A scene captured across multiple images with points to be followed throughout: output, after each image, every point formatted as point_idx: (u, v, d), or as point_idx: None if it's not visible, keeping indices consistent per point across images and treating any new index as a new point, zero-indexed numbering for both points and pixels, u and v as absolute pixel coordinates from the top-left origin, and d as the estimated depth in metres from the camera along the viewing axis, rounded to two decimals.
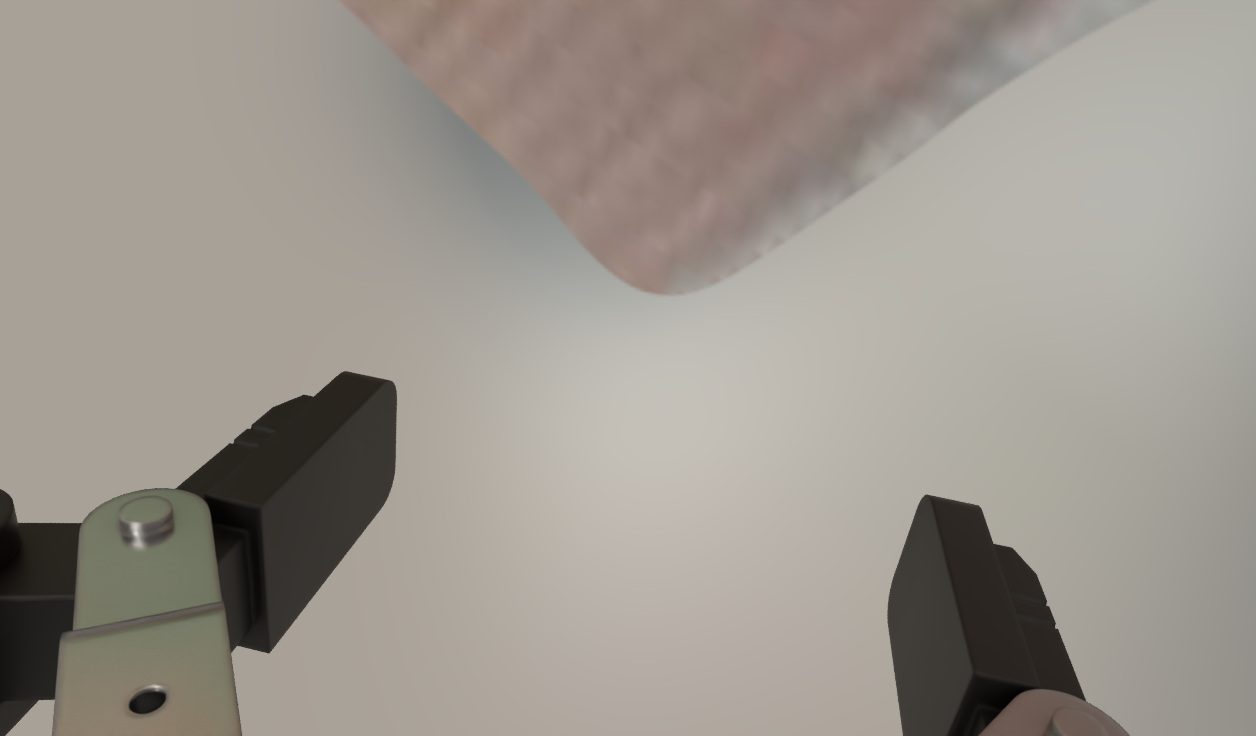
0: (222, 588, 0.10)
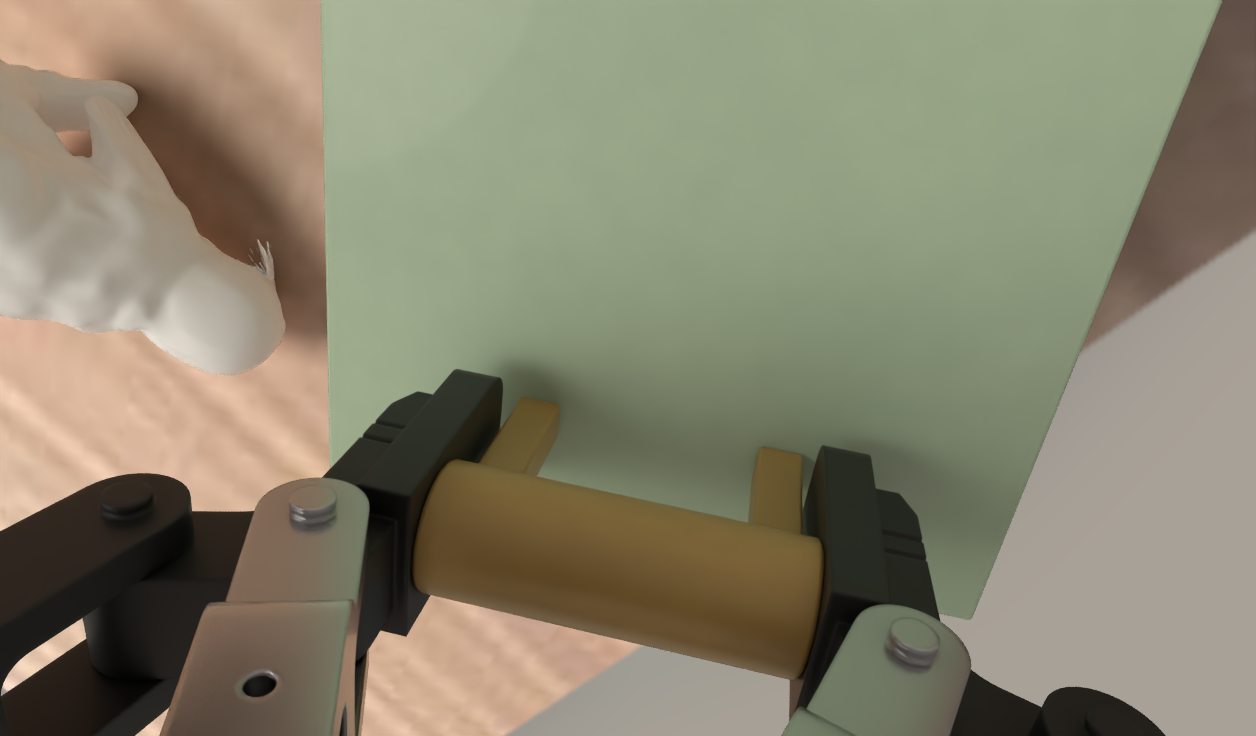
0: (376, 573, 0.10)
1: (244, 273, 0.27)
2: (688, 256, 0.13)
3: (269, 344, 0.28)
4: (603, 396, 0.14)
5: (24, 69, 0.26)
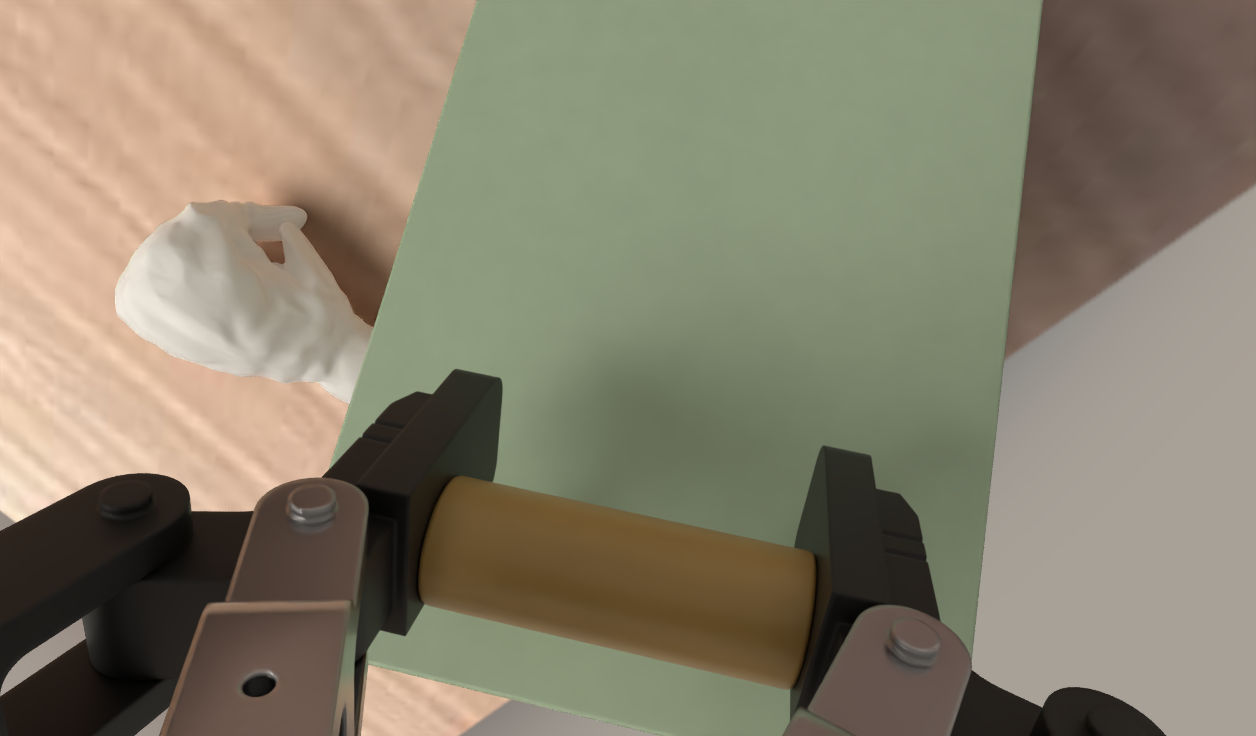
0: (375, 573, 0.10)
1: None
2: (667, 408, 0.16)
3: None
4: None
5: (239, 205, 0.38)
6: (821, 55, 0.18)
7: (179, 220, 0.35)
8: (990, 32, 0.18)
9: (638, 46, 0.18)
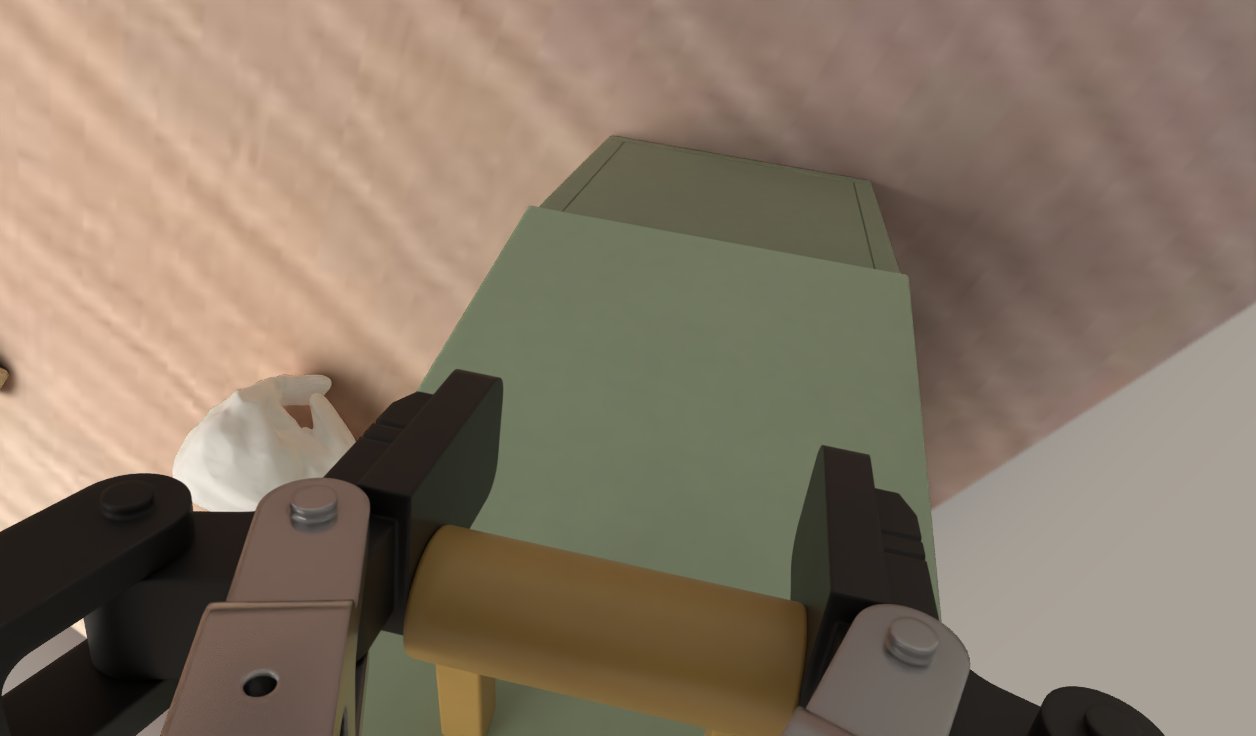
0: (376, 573, 0.10)
1: None
2: None
3: None
4: (542, 700, 0.14)
5: (274, 381, 0.45)
6: (751, 350, 0.22)
7: (228, 408, 0.41)
8: (879, 347, 0.23)
9: (604, 332, 0.22)
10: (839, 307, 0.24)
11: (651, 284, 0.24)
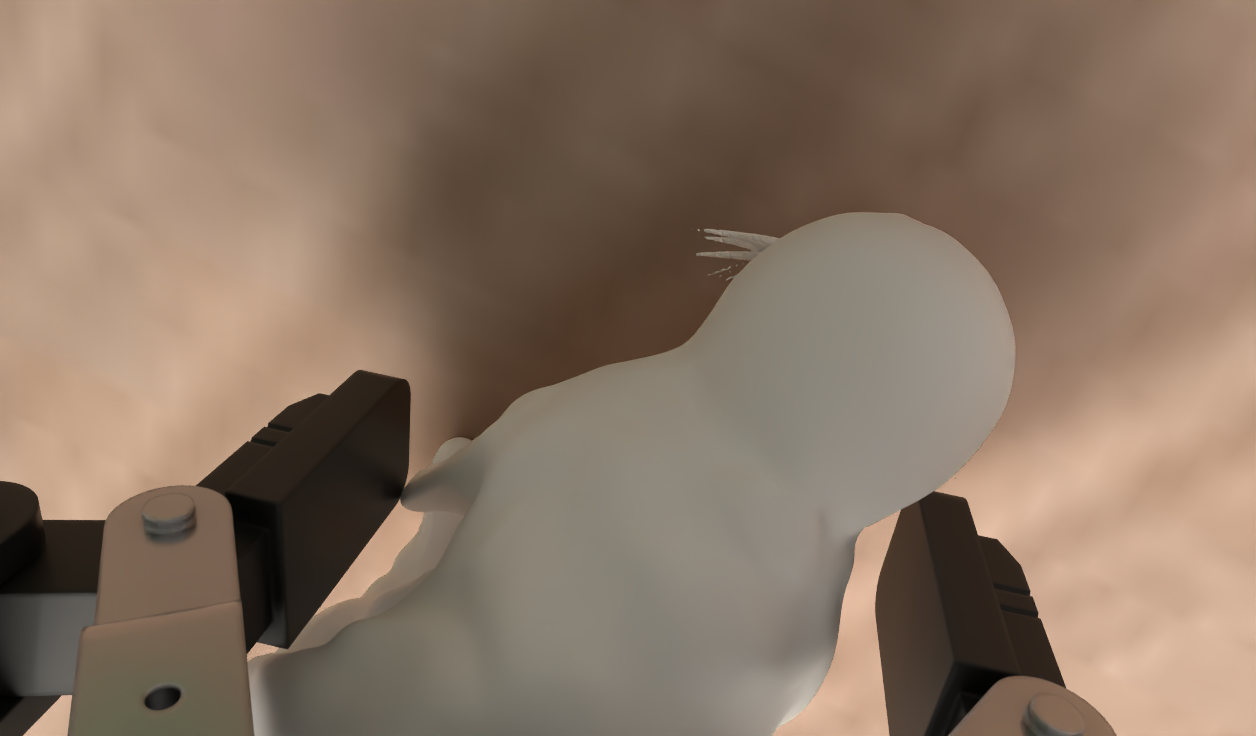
0: (243, 584, 0.10)
1: (744, 271, 0.11)
2: None
3: (936, 238, 0.10)
4: None
5: (369, 588, 0.15)
6: None
7: None
8: None
9: None
10: None
11: None
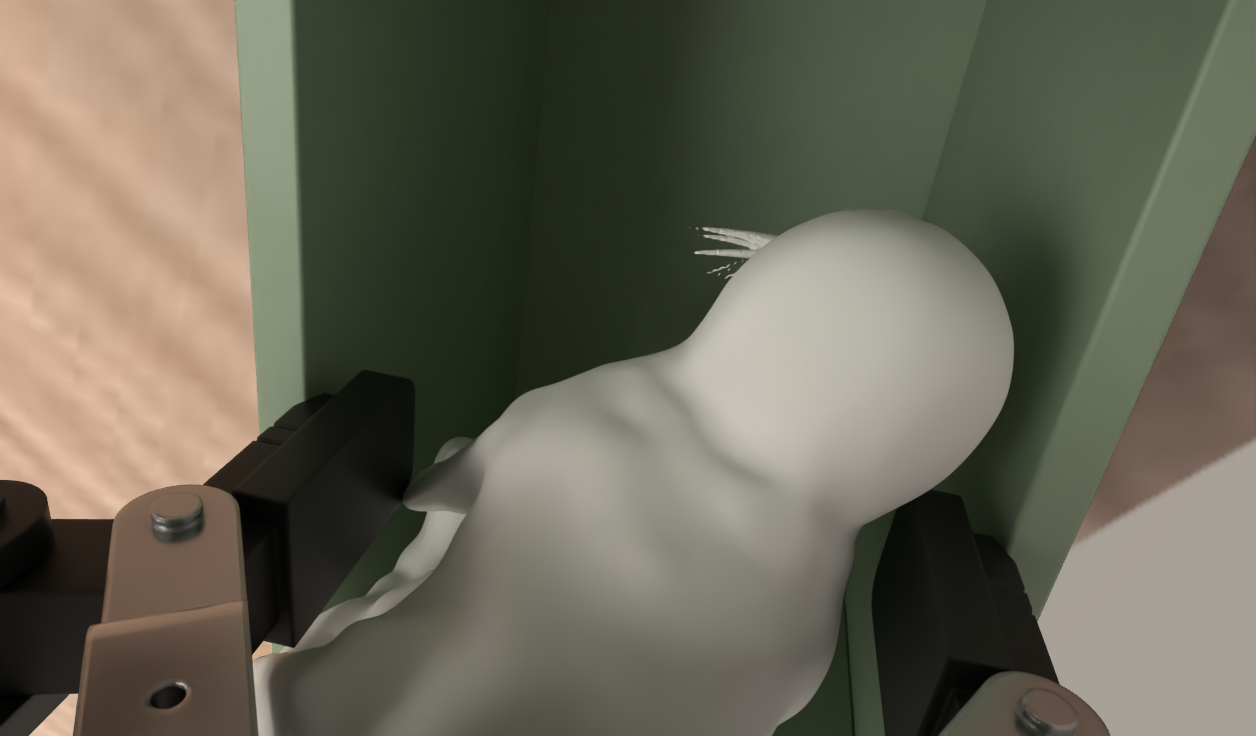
0: (251, 583, 0.10)
1: (742, 269, 0.11)
2: None
3: (934, 235, 0.10)
4: None
5: (372, 588, 0.15)
6: None
7: None
8: None
9: None
10: None
11: None
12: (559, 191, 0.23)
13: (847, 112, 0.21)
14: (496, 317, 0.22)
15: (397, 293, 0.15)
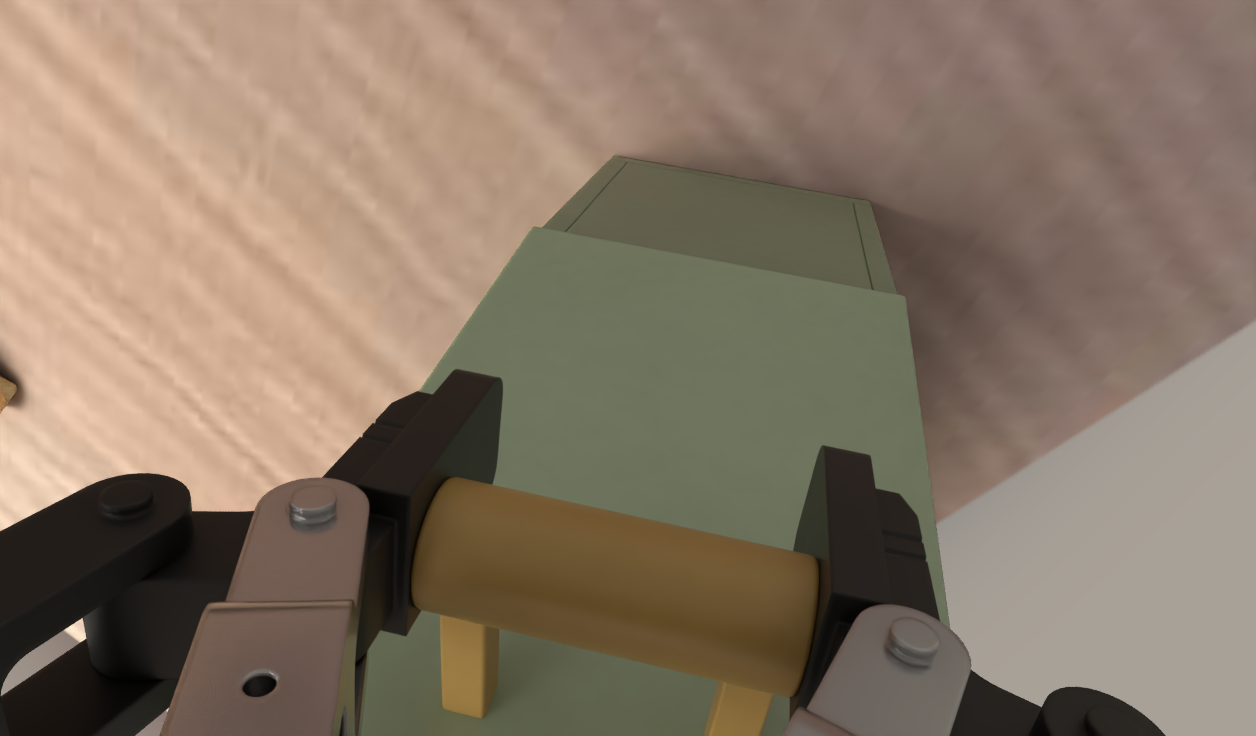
0: (376, 573, 0.10)
1: None
2: None
3: None
4: (544, 677, 0.14)
5: None
6: (752, 359, 0.22)
7: None
8: (878, 360, 0.23)
9: (607, 340, 0.22)
10: (838, 322, 0.24)
11: (653, 298, 0.24)
12: None
13: None
14: None
15: None
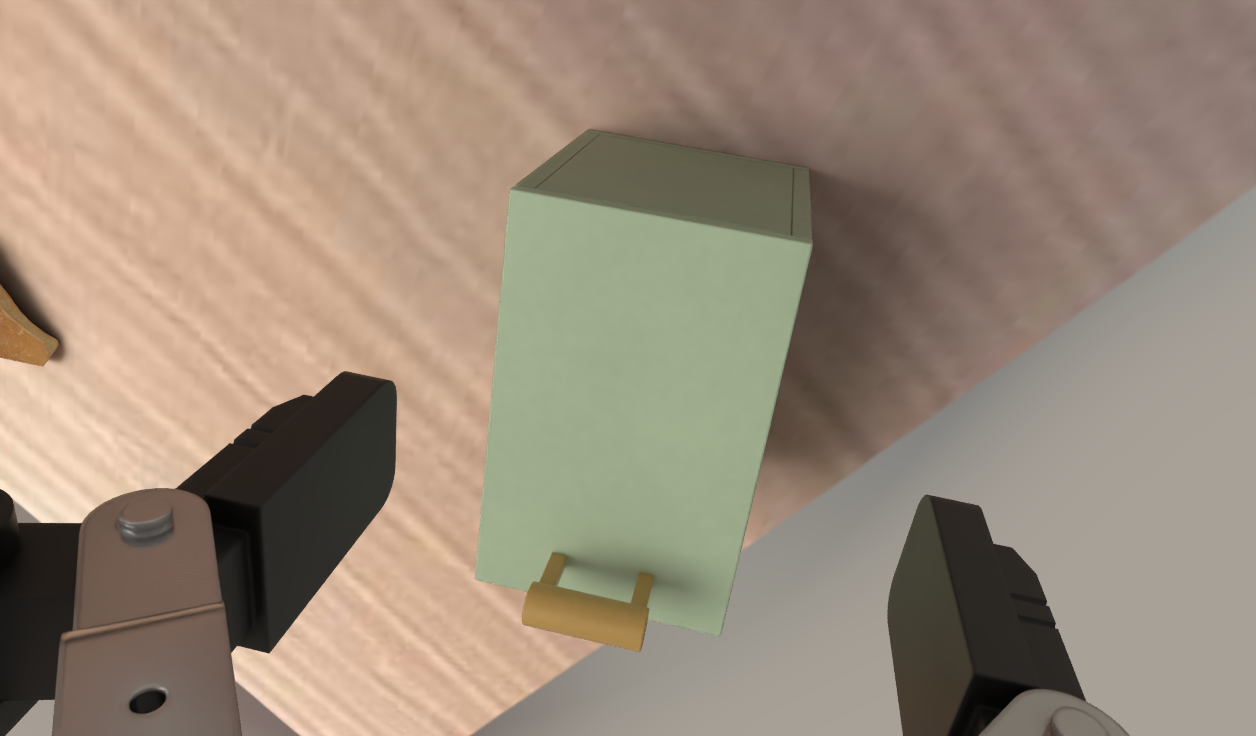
0: (222, 588, 0.10)
1: None
2: (611, 508, 0.37)
3: None
4: (582, 553, 0.39)
5: None
6: (676, 349, 0.34)
7: None
8: (764, 338, 0.33)
9: (584, 342, 0.35)
10: (745, 296, 0.33)
11: (610, 285, 0.34)
12: None
13: None
14: None
15: None
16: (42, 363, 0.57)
